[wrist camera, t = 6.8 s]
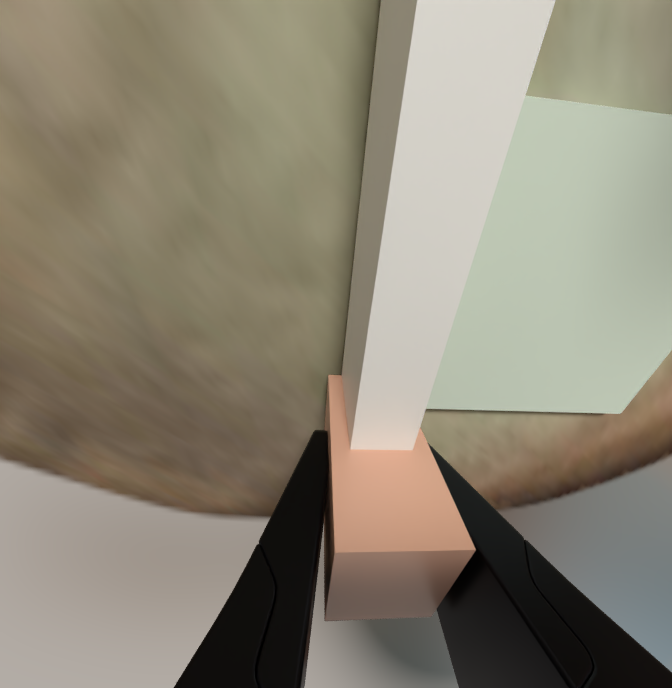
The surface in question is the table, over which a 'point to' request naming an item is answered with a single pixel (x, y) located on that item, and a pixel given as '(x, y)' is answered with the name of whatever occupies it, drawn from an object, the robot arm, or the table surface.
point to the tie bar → (415, 291)
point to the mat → (568, 267)
